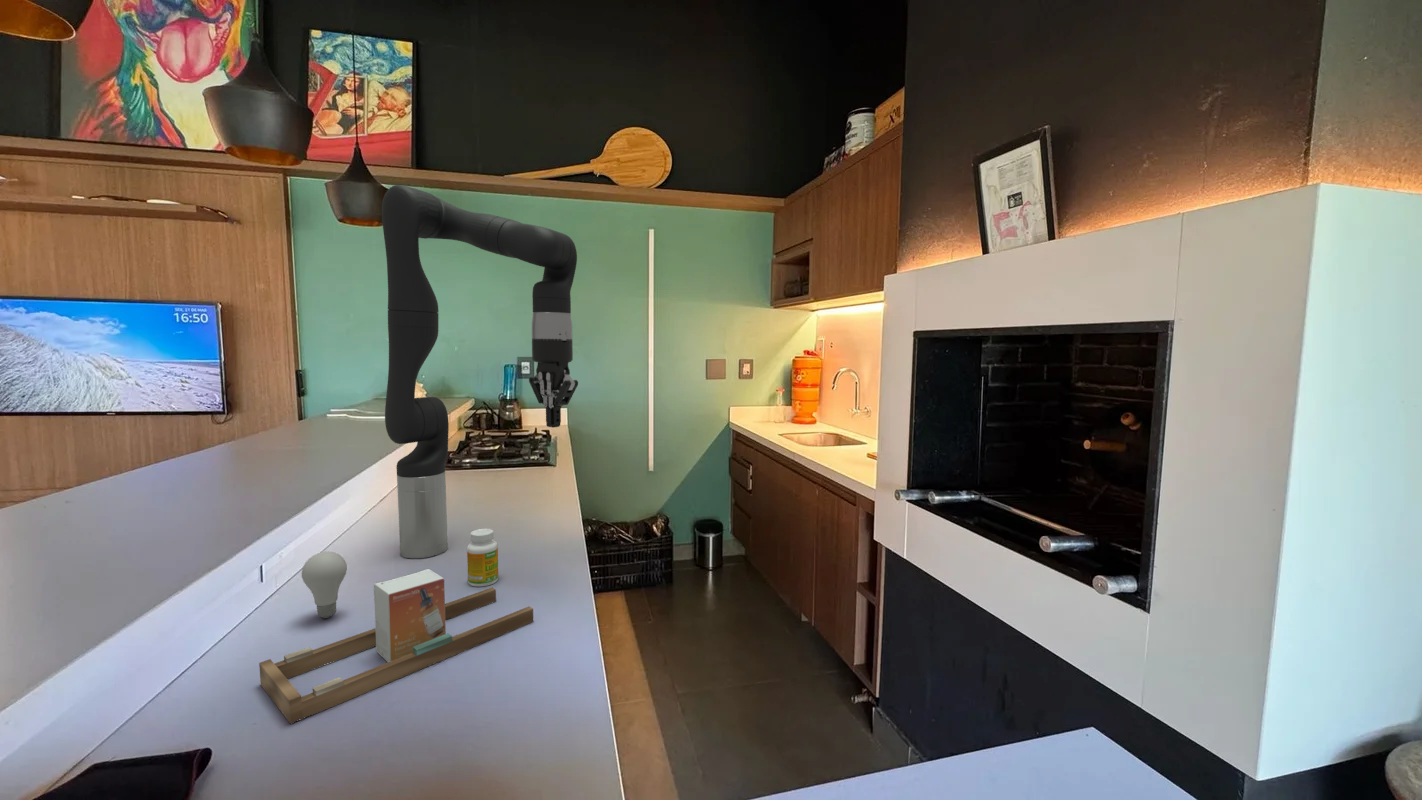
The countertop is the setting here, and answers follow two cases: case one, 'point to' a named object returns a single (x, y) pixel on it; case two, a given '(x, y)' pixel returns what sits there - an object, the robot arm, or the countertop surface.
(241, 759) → the countertop surface
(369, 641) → the u-shaped wooden frame
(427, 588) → the small box
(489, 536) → the supplement bottle
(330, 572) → the lightbulb
